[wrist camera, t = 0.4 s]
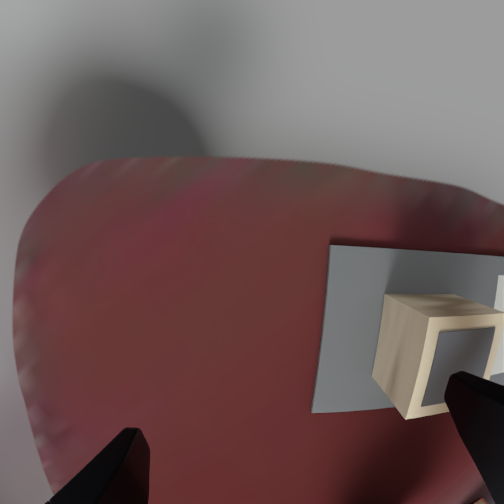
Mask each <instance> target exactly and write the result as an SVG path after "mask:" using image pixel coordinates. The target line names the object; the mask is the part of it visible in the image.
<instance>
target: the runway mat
mask: <svg viewBox="0 0 504 504" xmlns="http://www.w3.org/2000/svg"><path fill="white" fill-rule="evenodd" d="M385 294H454V295H457V296H460V297H463V298H466V299H468V300H471V301H474V302H477V303H480V304H482V305H485V306H488V307H491V308H493V309H496V310H499V311H502V312H504V257H503V256H490V255H476V254H463V253H449V252H434V251H420V250H405V249H390V248H374V247H358V246H342V245H329V258H328V271H327V283H326V295H325V305H324V315H323V324H322V333H321V342H320V350H319V358H318V366H317V373H316V380H315V387H314V394H313V400H312V407H311V412H312V413H327V412H346V411H360V410H371V409H381V408H390V407H395V406H394V404H393V403H392V402H391V400H390V399H389V398H388V397H387V395H386V394H385V393H384V391H383V390H382V389H381V388H380V386H379V385H378V384H377V382H376V381H375V380H374V378H373V377H372V372H373V367H374V361H375V356H376V350H377V344H378V338H379V332H380V325H381V319H382V311H383V304H384V295H385ZM489 381H492V382H495V383H498V384H500V385H504V323H503V328H502V333H501V337H500V342H499V346H498V350H497V354H496V358H495V362H494V365H493V369H492V372H491V376H490V379H489Z"/></svg>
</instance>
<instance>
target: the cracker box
mask: <svg viewBox="0 0 504 504" xmlns="http://www.w3.org/2000/svg"><path fill="white" fill-rule="evenodd" d="M473 504H487V502H486V501H485V500H484V498H481V499H479V500H478V501H476V502H474V503H473Z"/></svg>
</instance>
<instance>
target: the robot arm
mask: <svg viewBox="0 0 504 504" xmlns="http://www.w3.org/2000/svg"><path fill="white" fill-rule="evenodd" d="M444 400H445V403H446V405H447V407H448V409H449V412H450V414H451V416H452V418H453V421H454V423H455V425H456V428H457V430H458V432H459V434H460V437H461V439H462V440H463V442H464V444H465V446H466V448H467V450H468V451H469V453H470V455H471V457H472V459H473V460H474V462H475V464H476V466H477V468H478V470H479V472H480V474H481V476H482V477H483V479H484V481H485V483H486V485H487V487H488V489H489V491H490V493H491V495H492V497H493V499H494V501H495V503H496V504H504V386H503V385H500V384H498V383H495V382H492V381H489V380H487V379H484V378H481V377H478V376H476V375H473V374H470V373H468V372H465V371H458V372H456V373H453V374H451V375H450V377H449V379H448V383H447V386H446V389H445V393H444ZM149 468H150V448H149V445H148V443H147V441H146V439H145V437H144V435H143V433H142V431H141V430H140V429H139V428H129V427H127V428H125V429H123V430H122V431H121V432H120V433H119V434H118V435H117V436H116V437H115V438H114V439H113V440H112V441H111V442H110V443H109V444H108V445H107V446H106V447H105V448H104V449H103V450H102V451H101V452H100V453H99V454H97V455H96V456H95V457H94V458H93V459H92V460H91V461H90V462H89V463H88V464H87V465H86V466H85V467H84V468H83V469H82V470H81V471H80V472H79V473H78V474H77V475H75V476H74V477H73V478H72V479H71V480H70V481H69V482H68V483H67V484H66V485H65V486H64V487H63V488H62V489H60V490H59V491H58V492H57V493H56V494H55V495H54V496H53V497H52V498H51V499H50V502H49V501H47V502H46V503H45V504H148V498H149Z"/></svg>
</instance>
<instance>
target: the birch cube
mask: <svg viewBox="0 0 504 504" xmlns="http://www.w3.org/2000/svg"><path fill="white" fill-rule="evenodd" d="M503 323H504V312H502V311H499V310H496V309H493V308H491V307H488V306H485V305H482V304H480V303H477V302H474V301H471V300H468V299H466V298H463V297H460V296H457V295H454V294H385V295H384V304H383V311H382V319H381V325H380V332H379V338H378V344H377V350H376V356H375V361H374V367H373V372H372V377H373V378H374V380H375V381H376V382H377V384H378V385H379V386H380V388H381V389H382V390H383V391H384V393H385V394H386V395H387V397H388V398H389V399H390V400H391V402H392V403H393V404H394V406H395V407H396V408H397V410H398V411H399V412H400V413H401V415H402V416H403V417H404V419H405V420H406V419H412V418H418V417H424V416H429V415H435V414H440V413H444V412H449V409H448V407H447V405H446V403H445V400H444V393H445V389H446V386H447V383H448V379H449V377H450V375H451V374H453V373H456V372H458V371H465V372H468V373H470V374H473V375H476V376H478V377H481V378H484V379H487V380H489V379H490V376H491V372H492V369H493V365H494V362H495V358H496V354H497V350H498V346H499V342H500V337H501V333H502V328H503Z"/></svg>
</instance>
